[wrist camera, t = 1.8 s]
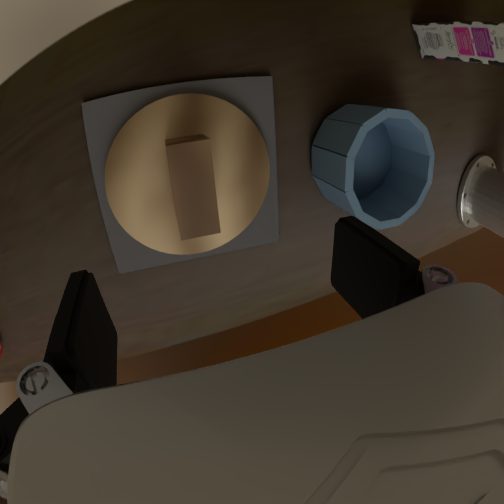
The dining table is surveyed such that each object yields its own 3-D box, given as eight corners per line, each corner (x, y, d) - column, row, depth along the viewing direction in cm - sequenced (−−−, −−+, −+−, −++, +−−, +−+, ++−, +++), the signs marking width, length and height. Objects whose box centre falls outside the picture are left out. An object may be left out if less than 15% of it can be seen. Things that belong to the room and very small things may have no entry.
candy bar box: (420, 61, 25) (542, 76, 12) (409, 24, 23) (531, 23, 9) (464, 55, 26) (563, 71, 12) (456, 23, 23) (555, 30, 10)
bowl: (393, 107, 27) (437, 114, 22) (388, 198, 33) (426, 219, 27) (306, 102, 25) (346, 105, 19) (307, 211, 30) (341, 237, 25)
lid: (261, 87, 23) (284, 84, 18) (269, 233, 29) (289, 258, 25) (94, 111, 19) (78, 113, 15) (126, 262, 26) (123, 293, 22)
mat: (269, 76, 23) (272, 76, 22) (276, 239, 31) (278, 241, 30) (83, 103, 19) (81, 103, 19) (120, 270, 27) (119, 274, 27)
